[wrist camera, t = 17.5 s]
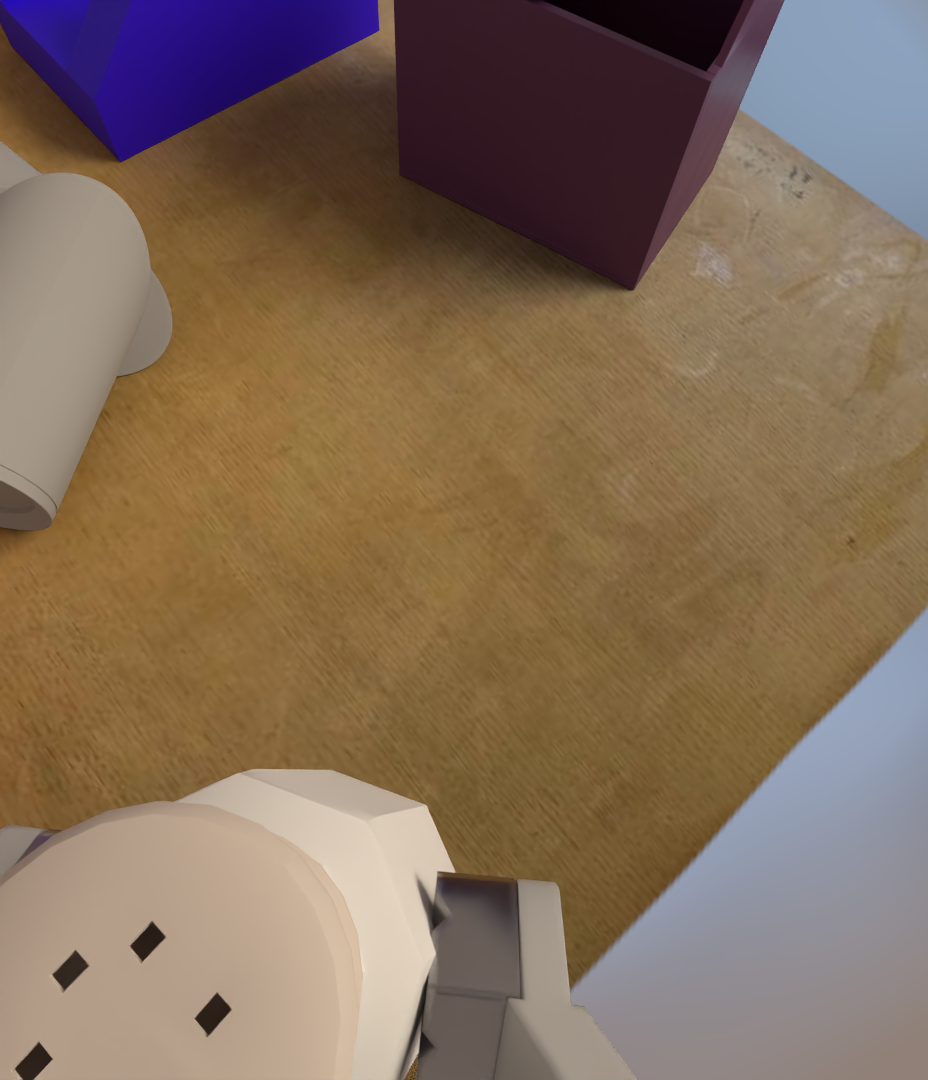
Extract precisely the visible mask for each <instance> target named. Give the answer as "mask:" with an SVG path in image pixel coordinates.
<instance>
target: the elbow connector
mask: <svg viewBox="0 0 928 1080" xmlns="http://www.w3.org/2000/svg"><path fill="white" fill-rule="evenodd" d="M171 334H172V313H171V308H170V304H169V301H168V298H167V296H166V293H165V291H164V289H163V287H162V285H161V283H160V282H159V280H158V278H157V277H156V275H155V274H154V272H153V271H152V269H151V268H150V260H149V253H148V247H147V244H146V240H145V236H144V234H143V231H142V229H141V226H140V224H139V222H138V220H137V218H136V216H135V215H134V213H133V211H132V210H131V209H130V207H129V206H128V205H127V204H126V202H125V201H124V200H123V199H122V198H121V197H120V196H119V195H118V194H117V193H116V192H115V191H113V190H112V189H110V188H109V187H108V186H106V185H105V184H103V183H101V182H99V181H97V180H95V179H93V178H90V177H87V176H83V175H80V174H74V173H48V174H43V175H42V174H41V173H40V172H39V171H37V170H36V169H35V168H34V167H32V166H31V165H30V164H29V163H27V162H26V161H25V160H24V159H22V158H21V157H20V156H18V155H17V154H16V153H15V152H13V151H12V150H11V149H10V148H8V147H7V146H6V145H5V144H3V143H2V142H1V141H0V527H3V528H9V529H16V530H29V531H32V530H42V529H46V528H48V527H49V526H51V524H52V522H53V520H54V518H55V515H56V513H57V511H58V508H59V506H60V504H61V502H62V499H63V497H64V495H65V493H66V490H67V488H68V486H69V483H70V481H71V479H72V477H73V474H74V472H75V470H76V467H77V465H78V463H79V461H80V458H81V456H82V454H83V452H84V449H85V447H86V445H87V442H88V440H89V438H90V436H91V433H92V431H93V429H94V427H95V424H96V422H97V420H98V417H99V415H100V413H101V411H102V408H103V406H104V404H105V401H106V399H107V397H108V395H109V392H110V390H111V388H112V386H113V383H114V381H115V379H116V376H124V375H128V374H131V373H135V372H138V371H140V370H142V369H144V368H146V367H148V366H149V365H151V364H152V363H154V362H155V361H156V360H157V359H158V358H159V357H160V356H161V355H162V354H163V353H164V351H165V350H166V348H167V346H168V344H169V341H170V339H171Z"/></svg>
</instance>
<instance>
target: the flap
mask: <svg viewBox="0 0 928 1080" xmlns="http://www.w3.org/2000/svg"><path fill="white" fill-rule="evenodd" d="M769 1H770V0H744V1H743V3H742V5H741V7H740V10H739V12H738V14H737V16H736V18H735V20H734V22H733V25H732V27H731V29H730V31H729V33H728V35H727V37H726V40H725V42H724V44H723V46H722V48H721V50H720V52H719V54H718V57H717V59H716V61H715V65H716V66H718V67H720V68H722V67H723V66H724V65H725V63H726V62H727V60H728V59H729V57H730V56H731V55H732V53H733V52H734V50H735V49H736V48H737V46H738V45H739V43H740V42H741V41H742V39H743V38H744V36H745V35H746V33H747V32H748V31H749V29H750V28H751V26H752V25H753V24H754V22H755V21H756V19H757V18H758V17H759V15H760V14H761V12H762V11H763V10H764V8H765V7H766V5H767V4H768V2H769Z"/></svg>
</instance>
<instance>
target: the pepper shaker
mask: <svg viewBox="0 0 928 1080" xmlns="http://www.w3.org/2000/svg"><path fill="white" fill-rule="evenodd" d="M437 871H442V872H452V873H456V872H455V870H454V868H453V865H452V863H451V861H450V858H449V856H448V854H447V852H446V849H445V847H444V845H443V842H442V840H441V838H440V836H439V833H438V831H437V829H436V826H435V824H434V822H433V820H432V817H431V815H430V813H429V810H428V808H427V806H426V805H424V804H422V803H419V802H416V801H414V800H411V799H408V798H406V797H403V796H400V795H398V794H395V793H392V792H390V791H387V790H384V789H382V788H379V787H376V786H374V785H371V784H368V783H366V782H363V781H360V780H358V779H355V778H352V777H350V776H347V775H344V774H342V773H339V772H336V771H334V770H290V769H253V770H249V771H245V772H241V773H237V774H235V775H232V776H230V777H227V778H225V779H222V780H220V781H217V782H215V783H213V784H211V785H209V786H206V787H204V788H202V789H200V790H198V791H196V792H194V793H191V794H189V795H187V796H185V797H183V798H181V799H179V800H176V801H174V802H168V801H156V802H151V803H145V804H140V805H135V806H129V807H124V808H119V809H113V810H108V811H105V812H103V813H101V814H98V815H96V816H94V817H92V818H90V819H88V820H85V821H83V822H81V823H79V824H77V825H74V826H72V827H70V828H68V829H66V830H64V831H61V832H59V833H57V834H55V835H53V836H52V837H51V838H49V839H48V840H47V841H45V842H44V843H43V844H42V845H40V846H39V847H38V848H36V849H35V850H34V851H32V852H31V853H30V854H29V855H27V856H26V857H25V858H23V859H22V860H21V861H19V862H18V863H17V864H15V865H14V866H13V867H12V868H10V869H9V870H8V871H6V872H5V873H4V874H3V876H2V877H1V878H0V1080H404V1079H405V1077H406V1075H407V1073H408V1071H409V1069H410V1067H411V1066H412V1064H413V1062H414V1060H415V1058H416V1056H417V1054H418V1053H419V1042H420V1032H421V1022H422V1013H423V1004H424V1001H425V991H426V985H427V979H428V973H429V970H430V967H431V965H432V962H433V960H434V957H435V955H436V951H435V948H434V945H433V942H432V931H433V930H434V929H435V928H434V925H433V923H432V915H433V904H434V894H435V886H436V878H437Z"/></svg>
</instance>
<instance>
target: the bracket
mask: <svg viewBox="0 0 928 1080" xmlns="http://www.w3.org/2000/svg"><path fill="white" fill-rule="evenodd" d="M0 24H1V26H2V28H3V30H4V32H5V34H6V36H7V38H8V40H9V42H10V44H11V46H12V47H13V48H14V49H15V50H16V51H17V52H18V53H19V54H20V56H21V57H22V58H23V59H24V60H25V61H26V62H27V63H28V64H29V65H30V66H31V67H32V68H33V69H34V70H35V72H36V73H37V74H38V75H39V76H40V77H41V78H42V79H43V80H44V81H45V82H46V83H47V84H48V85H49V86H50V87H51V89H52V90H53V91H54V92H55V93H56V94H57V95H58V96H59V97H60V98H61V99H62V100H63V101H64V102H65V103H66V104H67V106H68V107H69V108H70V109H71V110H72V111H73V112H74V113H75V114H76V115H77V116H78V117H79V118H80V119H81V120H82V122H83V123H84V124H85V125H86V126H87V127H88V128H89V129H90V130H91V131H92V132H93V133H94V134H95V135H96V136H97V137H98V139H99V140H100V141H101V142H102V143H103V144H104V145H105V146H106V147H107V148H108V149H109V150H110V151H111V152H112V153H113V154H114V156H115V157H116V158H117V159H118V160H119V161H120V162H122V161H124V160H126V159H128V158H130V157H131V156H133V155H135V154H137V153H139V152H141V151H143V150H145V149H147V148H149V147H151V146H153V145H155V144H157V143H159V142H161V141H163V140H165V139H167V138H169V137H171V136H173V135H175V134H177V133H179V132H181V131H183V130H185V129H187V128H188V127H190V126H192V125H194V124H196V123H198V122H200V121H202V120H204V119H206V118H208V117H210V116H212V115H214V114H216V113H218V112H220V111H222V110H224V109H226V108H228V107H230V106H232V105H234V104H236V103H238V102H240V101H242V100H244V99H245V98H247V97H249V96H251V95H253V94H255V93H257V92H259V91H261V90H263V89H265V88H267V87H269V86H271V85H273V84H275V83H277V82H279V81H281V80H283V79H285V78H287V77H289V76H291V75H293V74H295V73H297V72H299V71H300V70H302V69H304V68H306V67H308V66H310V65H312V64H314V63H316V62H318V61H320V60H322V59H324V58H326V57H328V56H330V55H332V54H334V53H336V52H338V51H340V50H342V49H344V48H346V47H348V46H350V45H352V44H354V43H356V42H357V41H359V40H361V39H363V38H365V37H367V36H369V35H371V34H373V33H375V32H377V31H379V17H378V0H0Z"/></svg>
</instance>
